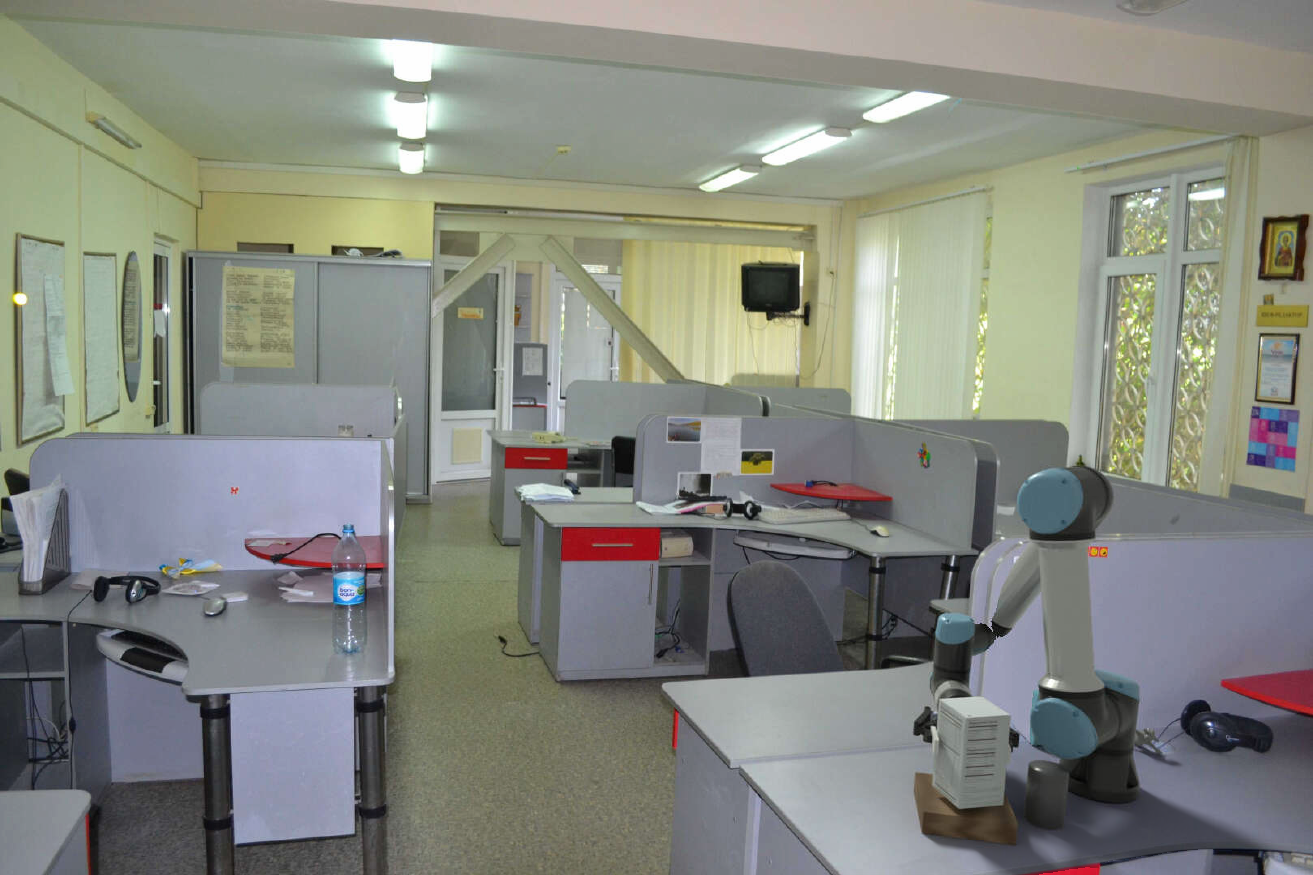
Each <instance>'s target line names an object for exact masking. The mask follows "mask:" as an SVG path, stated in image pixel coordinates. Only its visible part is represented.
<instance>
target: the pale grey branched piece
mask: <svg viewBox="0 0 1313 875" xmlns="http://www.w3.org/2000/svg"><path fill="white" fill-rule="evenodd" d="M1152 727H1153V726H1152V725H1150V726H1149V727H1148V728H1143V730H1138V729H1137V728H1136V734H1135V742H1134V746H1135V745H1137V746H1138V747H1139V746H1143V745H1147V746H1149V747H1151V748H1152V749H1153V750H1154V752H1155V753H1156V754H1158V755H1159V756H1163V754H1164V752H1162V751H1161V750H1162V748H1161V747H1160V748H1157V746H1156V745H1154V743H1153V742H1152V741H1154V742H1157V743H1160V740H1159V739H1158V738H1157V736H1156V732H1157V730H1155V729H1152Z"/></svg>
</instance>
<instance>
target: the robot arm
mask: <svg viewBox="0 0 1313 875" xmlns="http://www.w3.org/2000/svg"><path fill="white" fill-rule="evenodd" d="M1114 500H1115V496H1114V490H1113V485H1112V484H1111V482H1110V480H1109V479H1108V478H1107V476H1106V475H1105V474H1104V473H1102V472H1101V471H1100V470H1098V469H1097V468H1095V467H1091V466H1087V465H1071V466H1067V467H1066V466H1065V467H1058V468H1057V467H1053V468H1046V469H1043V470H1041V471H1038V472H1036V473H1034V474H1032V475H1030V476H1029V477H1028V478H1026V480H1025V481H1024V482H1023V484H1022V485H1021V486H1020V488H1019V491H1018V494H1017V498H1016V510H1017V512H1018V515H1019V518H1020V519H1021V521H1022V522H1023V523H1024V524H1025V526H1027V528H1028V532H1029V540H1030V542H1029V543H1028V544H1027V546H1026V547H1025V548H1023V551H1022V552H1021V554H1020V555H1019V556H1018V557H1017V559H1016V560H1015V561H1014V563H1013V564H1014V565H1013V564H1012V566H1011V567H1012V568H1011V567H1010V568H1011V570H1010V569H1009V570H1010V572H1009V574H1008V577H1007V578H1006V580H1005V582H1004V584H1003V586H1002V588H1001V593H1000V596H999V599H998V603H997V608H996V612H995V613H994V616H993V618H992V621H991V622H992V626H991V627H992V629H993V632H992V630H991V629H990V628H989V627H988V626H987V625H986V624H982V623H980V624H975V623H974V620H973V619H972V618H973V617H971V616H969V615H967V614H964V613H958V612H945V613H942V614H940V616H938V618H937V622H936V628H935V633H934V635H935V639H934V640H935V641H934V652H933V654H934V655H933V664H932V671H931V672H930V676H929V690H930V692H931V695H932V697H933V699H934V703H935V707H936V710H934V709H933V708H931V706H927V705H926V706H924V708H923V712H922V713H921V714H920V715H919V716H918V717H917V718H916V719H915V720H914V721H913V731H912V736H915V737H919V736H922V738H923V739H922V742H924V743H928V744H930V746H931V749H932V753H933V755H934V756H935V755H938V749H939V738H938V734H937V720H938V707H939V699H947V698H965V697H974V696H973V694H972V691H971V690H970V679H971V670H972V669H971V668H972V660H973V657H975V656H977V655H978V656H979V655H980V654H983V652H984V653H986V652H985V651H986V650H987V649H989V647H990V646H991V645H992V644H993V643H994V640H996V636H997V638H998V637H999V636H1000V637H1003V636H1005V635H1007V634H1008V633H1009V632H1010V631H1011V630H1012V628H1013V629H1014V627H1015V626H1016V624H1017V623H1018V622H1019V620H1020V619H1021V618H1022V616H1023V615H1024V614H1025V613H1026V612H1027V610H1028V609H1029V607H1030V606H1031V605H1032V604H1033V602H1034V601H1035V600H1036V598H1037V597H1038V596H1039V595H1040V594H1041V607H1042V608H1041V609H1042V625H1043V643H1044V646H1043V647H1044V660H1045V662H1044V663H1045V673H1044V674H1043V676H1042V677H1040V678H1038V679H1039V681H1038V688H1039V701H1038V702H1037V704H1036V705H1035V706H1034V708H1033V709H1032V711H1031V714H1030V726H1031V730H1032V733H1033V735H1034V737H1035V739H1036V740H1037V741H1038V743H1039V744H1041V745H1042V746H1041V747H1042V748H1044V750H1045V751H1046V752H1047V753H1049V754H1051V755H1053V756H1054V757H1057V758H1060V760H1059V761H1058V764H1060V765H1062V766H1064V767H1065V768H1067V769H1068V770H1069V782H1068V791H1070V792H1073V793H1074V794H1077V795H1079V796H1081V797H1083V798H1087V799H1091V800H1094V801H1099V802H1103V803H1104V802H1106V803H1113V804H1115V803H1117V804H1120V803H1121V804H1122V803H1130V802H1133V801H1135V800H1137V799H1138V798H1139V793H1140V780H1139V775H1138V771H1137V766H1136V763H1135V757H1134V749H1135V745H1134V742H1135V734H1136V729H1137V725H1138V717H1139V716H1138V715H1139V706H1140V702H1141V698H1140V696H1141V695H1140V691H1141V688H1140V685H1139V683H1138V682H1137V681H1135V680H1134V679H1132V678H1130V677H1127V676H1125V675H1123V674H1119V673H1116V672H1112V671H1108V670H1103V669H1098V668H1095V653H1094V640H1093V639H1094V637H1093V622H1092V621H1093V620H1092V619H1093V618H1092V602H1091V586H1090V569H1089V568H1090V567H1089V554H1088V553H1089V551H1088V548H1089V547H1090V546H1091V545H1092V544H1093V543H1094V541H1096V530H1097V529H1098V528H1099V526H1101V524H1102V523H1103V522H1104V521H1105V519H1106V518H1107V517H1108V515H1109V514H1110V512H1111V510H1112V508H1113V505H1114ZM1020 735H1021V734H1020V733H1019V732H1018V731H1017V730H1016V729H1015V728H1012V727H1011V726H1010V732H1009V743H1008V754H1007V764H1011V755H1012V753H1013V752H1014V748H1019V745H1020Z"/></svg>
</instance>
